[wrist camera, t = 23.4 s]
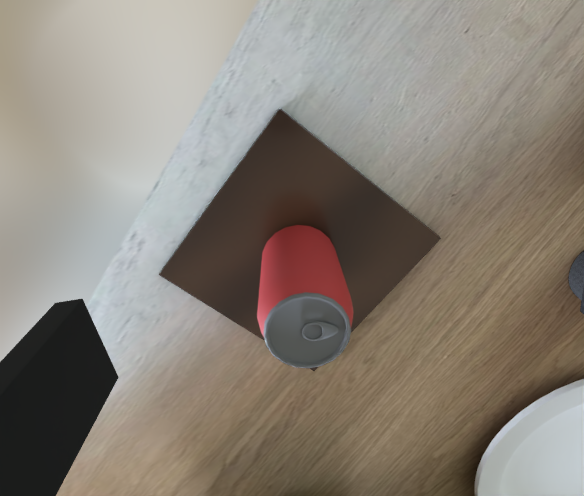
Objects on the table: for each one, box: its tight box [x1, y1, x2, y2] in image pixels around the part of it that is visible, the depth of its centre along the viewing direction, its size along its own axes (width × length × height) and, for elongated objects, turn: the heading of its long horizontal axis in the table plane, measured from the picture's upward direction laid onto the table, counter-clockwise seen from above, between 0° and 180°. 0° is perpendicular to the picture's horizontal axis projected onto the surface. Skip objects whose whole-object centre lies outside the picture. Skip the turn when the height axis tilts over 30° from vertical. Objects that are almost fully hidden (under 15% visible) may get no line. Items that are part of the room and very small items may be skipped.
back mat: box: [159, 108, 441, 371], centre depth 38 cm, size 18×18×1 cm
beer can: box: [257, 225, 353, 368], centre depth 32 cm, size 7×7×12 cm
